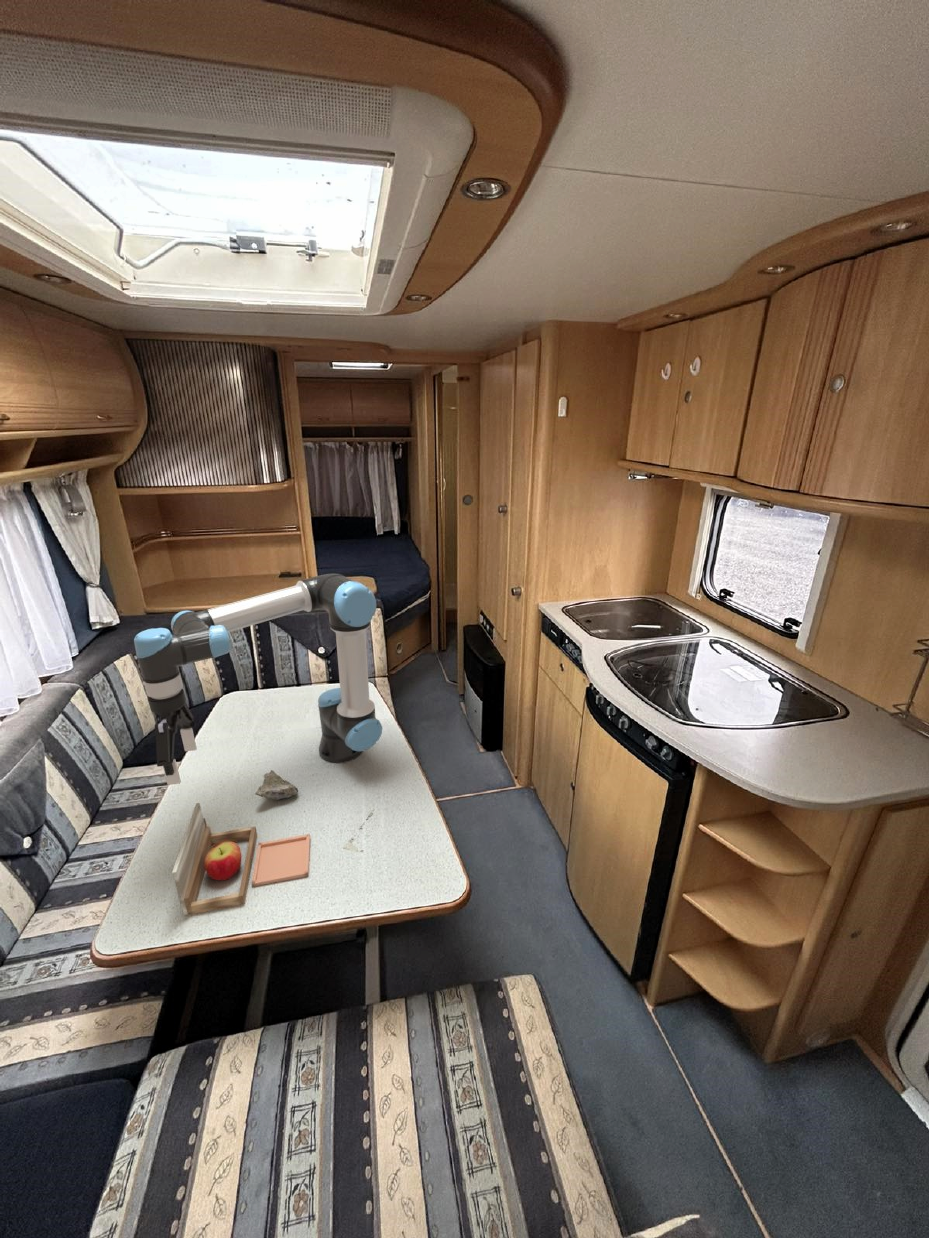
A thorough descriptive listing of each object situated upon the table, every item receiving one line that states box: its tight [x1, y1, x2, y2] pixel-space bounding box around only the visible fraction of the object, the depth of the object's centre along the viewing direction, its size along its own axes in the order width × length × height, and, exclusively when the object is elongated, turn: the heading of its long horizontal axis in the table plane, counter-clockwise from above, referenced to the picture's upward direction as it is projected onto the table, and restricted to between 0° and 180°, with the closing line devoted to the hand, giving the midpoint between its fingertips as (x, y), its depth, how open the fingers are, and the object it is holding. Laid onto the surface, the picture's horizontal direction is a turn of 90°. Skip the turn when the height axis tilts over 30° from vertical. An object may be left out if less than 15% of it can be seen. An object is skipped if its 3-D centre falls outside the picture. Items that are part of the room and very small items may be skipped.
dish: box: [251, 833, 311, 888], centre depth 129 cm, size 13×13×2 cm
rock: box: [255, 769, 299, 801], centre depth 150 cm, size 11×6×10 cm
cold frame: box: [171, 802, 258, 916], centre depth 124 cm, size 13×23×14 cm, turn 14°
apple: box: [204, 841, 242, 881], centre depth 124 cm, size 8×8×10 cm
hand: (183, 765), depth 128 cm, fingers open, 13 cm apart
